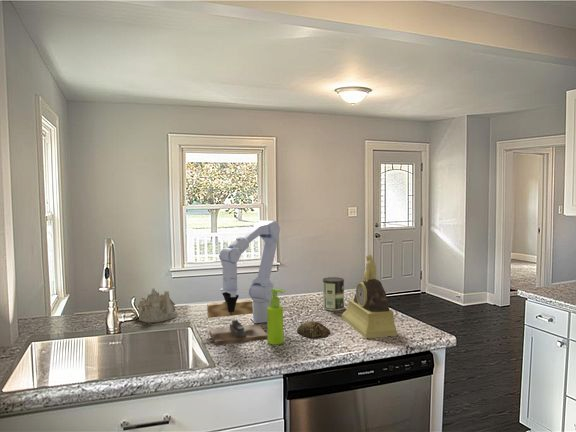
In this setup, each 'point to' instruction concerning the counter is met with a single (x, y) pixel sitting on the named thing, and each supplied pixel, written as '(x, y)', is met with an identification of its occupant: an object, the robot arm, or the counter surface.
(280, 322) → the soap dispenser
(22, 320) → the counter surface
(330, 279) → the coffee can
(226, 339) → the board
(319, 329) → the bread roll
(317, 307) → the counter surface
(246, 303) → the oak beam
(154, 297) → the sand castle
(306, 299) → the counter surface
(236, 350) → the counter surface
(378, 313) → the decorative clock
